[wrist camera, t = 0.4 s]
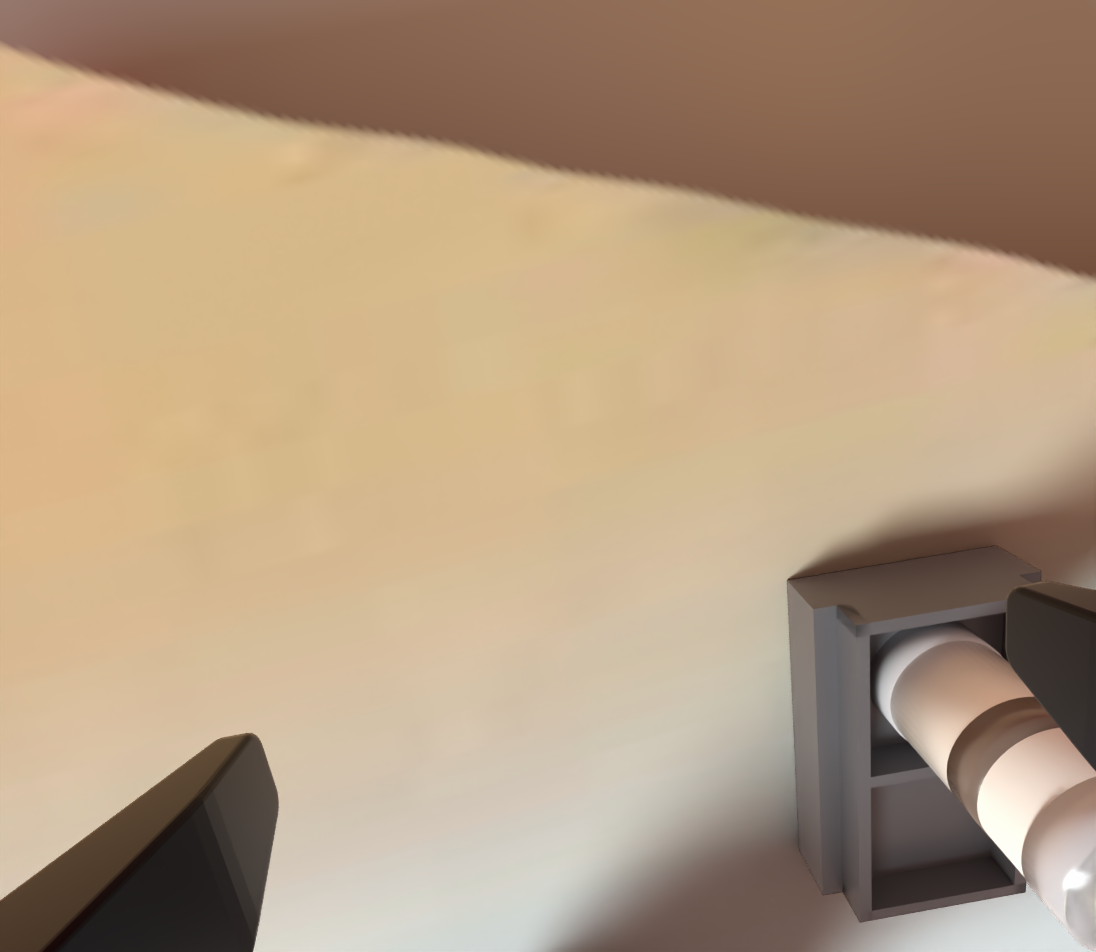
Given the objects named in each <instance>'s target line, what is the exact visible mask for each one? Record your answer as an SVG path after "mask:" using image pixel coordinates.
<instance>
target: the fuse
mask: <svg viewBox="0 0 1096 952" xmlns="http://www.w3.org/2000/svg"><path fill="white" fill-rule="evenodd" d="M870 696H871V699H872V701H873V703H874V704H875V706H876V707H877V708H878V710H879V711H880V712H881V713H882V714H883V715H884V717H885V718H886V719H887V720H888V721H889V722H890V724H891V725H892V726H893V727H894V728H895V729H896V731H897V732H898V733H899V734H900V735H901V736H902V737H903V738H904V739H906V740H907V741H908V742H909V743H910V744H911V746H912V747H913V748H914V749H915V750H916V751H917V753H918V754H919V755H920V756H921V757H922V758H923V760H924V761H925V762H926V763H927V764H928V765H929V767H930V768H931V769H932V770H933V771H934V772H935V774H936V775H937V776H938V777H939V778H940V779H941V781H942V782H943V783H944V784H945V785H946V786H947V788H948V789H949V790H950V791H951V792H952V793H953V795H954V797H955V798H956V799H957V800H958V802H959V803H960V804H961V805H962V806H963V807H964V809H965V810H966V811H967V812H968V813H969V814H970V816H971V817H972V818H973V819H974V820H975V821H976V823H977V824H978V825H979V826H980V827H981V828H982V830H983V831H984V832H985V833H986V834H987V835H988V836H989V838H991V839H992V840H993V841H994V842H995V843H996V845H997V846H998V847H999V848H1000V849H1001V850H1002V852H1003V853H1004V854H1005V855H1006V856H1007V857H1008V859H1009V860H1010V861H1011V862H1012V863H1013V864H1014V866H1015V867H1016V868H1017V869H1018V870H1019V871H1020V873H1021V874H1022V875H1023V876H1024V877H1025V880H1026V882H1027V883H1028V885H1029V886H1030V888H1031V889H1032V890H1033V891H1034V892H1035V894H1036V895H1037V896H1038V897H1039V898H1040V899H1041V901H1042V902H1043V903H1044V904H1045V905H1046V906H1047V908H1048V909H1049V910H1050V911H1051V912H1052V913H1053V915H1054V916H1055V917H1056V918H1057V919H1058V921H1059V922H1060V923H1061V924H1062V925H1063V926H1064V928H1065V929H1066V930H1067V931H1068V932H1069V933H1070V935H1071V936H1072V937H1073V938H1074V939H1075V940H1076V941H1077V942H1078V943H1080V944H1081V945H1082V946H1084V947H1086V948H1088V949H1090V950H1092V951H1095V952H1096V771H1095V770H1094V769H1093V768H1092V767H1091V766H1090V764H1089V763H1088V762H1087V761H1086V760H1085V758H1084V757H1083V756H1082V755H1081V754H1080V752H1079V751H1078V750H1077V749H1076V747H1075V746H1074V745H1073V744H1072V742H1071V741H1070V740H1069V739H1068V737H1067V736H1066V735H1065V734H1064V732H1063V731H1062V730H1061V729H1060V728H1059V726H1058V725H1057V724H1056V723H1055V721H1054V720H1053V719H1052V718H1051V716H1050V715H1049V714H1048V713H1047V711H1046V710H1045V709H1044V708H1043V706H1042V705H1041V704H1040V703H1039V702H1038V700H1037V699H1036V698H1035V697H1034V695H1033V694H1032V693H1031V692H1030V690H1029V689H1028V688H1027V687H1026V685H1025V684H1024V683H1023V682H1022V680H1021V679H1020V678H1019V677H1018V675H1017V674H1016V673H1015V672H1014V670H1013V669H1012V667H1011V665H1010V663H1009V662H1008V661H1006V660H1005V659H1004V658H1003V657H1002V656H1001V655H1000V653H998V652H997V651H996V650H995V649H994V648H993V647H991V646H990V645H989V644H988V643H986V642H985V641H984V640H983V639H981V638H980V637H979V636H977V635H976V634H975V633H974V632H972V631H971V630H970V629H968V628H967V627H965V626H964V625H962V624H960V623H958V622H955V621H952V622H946V623H940V624H934V625H928V626H922V627H916V628H910V629H905V630H900V631H898V632H897V633H896V634H894V635H893V636H892V637H891V638H890V639H889V640H887V641H886V642H885V644H884V645H883V646H882V647H881V648H880V650H879V651H878V653H877V654H876V656H875V658H874V660H873V662H872V665H871V668H870Z"/></svg>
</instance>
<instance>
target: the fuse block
mask: <svg viewBox="0 0 1096 952" xmlns="http://www.w3.org/2000/svg"><path fill="white" fill-rule="evenodd" d="M1040 581H1041V571H1040V570H1038V569H1036V568H1035V567H1033V566H1031V565H1030V564H1028V563H1026V562H1024V561H1023V560H1021V559H1019V558H1017V557H1016V556H1014V555H1012V554H1011V553H1009V552H1007V551H1005V550H1004V549H1002V548H1000V547H998V546H991V547H985V548H979V549H973V550H967V551H961V552H955V553H949V554H943V555H937V556H931V557H925V558H919V559H913V560H907V561H901V562H895V563H889V564H883V565H877V566H871V567H865V568H859V569H852V570H846V571H840V572H834V573H828V574H822V575H816V576H810V577H804V578H798V579H792V580H787V593H788V615H789V638H790V660H791V682H792V704H793V726H794V748H795V771H796V793H797V815H798V837H799V851H800V853H801V854H802V856H803V858H804V860H805V862H806V864H807V866H808V868H809V870H810V872H811V874H812V876H813V877H814V879H815V881H816V883H817V885H818V887H819V889H820V891H821V893H822V895H828V894H834V893H839V892H843V893H844V895H845V897H846V898H847V900H848V902H849V904H850V906H851V907H852V909H853V911H854V913H855V915H856V916H857V918H858V920H859V922H866V921H871V920H877V919H882V918H887V917H893V916H898V915H904V914H909V913H915V912H920V911H926V910H931V909H937V908H942V907H948V906H953V905H959V904H964V903H970V902H975V901H981V900H986V899H991V898H997V897H1002V896H1008V895H1013V894H1019V893H1024V892H1026V880H1025V877H1024V876H1023V875H1022V874H1021V873H1020V871H1019V870H1018V869H1017V868H1016V867H1015V866H1014V864H1013V863H1012V862H1011V861H1010V860H1009V859H1008V857H1007V856H1006V855H1005V854H1004V853H1003V852H1002V850H1001V849H1000V848H999V847H998V846H997V845H996V843H995V842H994V841H993V840H992V839H991V838H989V836H988V835H987V834H986V833H985V832H984V831H983V830H982V828H981V827H980V826H979V825H978V824H977V823H976V821H975V820H974V819H973V818H972V817H971V816H970V814H969V813H968V812H967V811H966V810H965V809H964V807H963V806H962V805H961V804H960V803H959V802H958V800H957V799H956V798H955V797H954V795H953V793H952V792H951V791H950V790H949V789H948V788H947V786H946V785H945V784H944V783H943V782H942V781H941V779H940V778H939V777H938V776H937V775H936V774H935V772H934V771H933V770H932V769H931V768H930V767H929V765H928V764H927V763H926V762H925V761H924V760H923V758H922V757H921V756H920V755H919V754H918V753H917V751H916V750H915V749H914V748H913V747H912V746H911V744H910V743H909V742H908V741H907V740H906V739H904V738H903V737H902V736H901V735H900V734H899V733H898V732H897V731H896V729H895V728H894V727H893V726H892V725H891V724H890V722H889V721H888V720H887V719H886V718H885V717H884V715H883V714H882V713H881V712H880V711H879V710H878V708H877V707H876V706H875V704H874V703H873V701H872V699H871V696H870V668H871V665H872V662H873V660H874V658H875V656H876V654H877V653H878V651H879V650H880V648H881V647H882V646H883V645H884V644H885V642H886V641H887V640H889V639H890V638H891V637H892V636H893V635H894V634H896V633H897V632H898V631H900V630H905V629H910V628H916V627H922V626H928V625H934V624H940V623H946V622H952V621H955V622H958V623H960V624H962V625H964V626H965V627H967V628H968V629H970V630H971V631H972V632H974V633H975V634H976V635H977V636H979V637H980V638H981V639H983V640H984V641H985V642H986V643H988V644H989V645H990V646H991V647H993V648H994V649H995V650H996V651H997V652H998V653H1000V655H1001V656H1002V657H1003V658H1004V659H1005V660H1006V661H1008V658H1007V655H1006V648H1005V640H1006V600H1007V596H1008V593H1009V592H1010V591H1011V590H1012V589H1013V588H1015V587H1018V586H1022V585H1027V584H1032V583H1038V582H1040ZM1008 662H1009V661H1008Z"/></svg>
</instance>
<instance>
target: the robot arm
mask: <svg viewBox="0 0 1096 952" xmlns="http://www.w3.org/2000/svg"><path fill="white" fill-rule="evenodd" d="M1005 648H1006V655H1007V658H1008V661H1009V663H1010V665H1011V667H1012V669H1013V670H1014V672H1015V673H1016V674H1017V675H1018V677H1019V678H1020V679H1021V680H1022V682H1023V683H1024V684H1025V685H1026V687H1027V688H1028V689H1029V690H1030V692H1031V693H1032V694H1033V695H1034V697H1035V698H1036V699H1037V700H1038V702H1039V703H1040V704H1041V705H1042V706H1043V708H1044V709H1045V710H1046V711H1047V713H1048V714H1049V715H1050V716H1051V718H1052V719H1053V720H1054V721H1055V723H1056V724H1057V725H1058V726H1059V728H1060V729H1061V730H1062V731H1063V732H1064V734H1065V735H1066V736H1067V737H1068V739H1069V740H1070V741H1071V742H1072V744H1073V745H1074V746H1075V747H1076V749H1077V750H1078V751H1079V752H1080V754H1081V755H1082V756H1083V757H1084V758H1085V760H1086V761H1087V762H1088V763H1089V764H1090V766H1091V767H1092V768H1093V769H1094V770H1095V771H1096V590H1092V589H1086V588H1081V587H1076V586H1070V585H1065V584H1060V583H1054V582H1047V581H1046V582H1038V583H1032V584H1027V585H1022V586H1018V587H1015V588H1013V589H1012V590H1011V591H1010V592H1009V593H1008V596H1007V600H1006V640H1005ZM278 808H279V801H278V793H277V789H276V786H275V783H274V780H273V777H272V773H271V770H270V767H269V764H268V761H267V758H266V755H265V752H264V749H263V746H262V743H261V741H260V740H259V738H258V737H257V736H256V735H255V734H253V733H245V734H239V735H234V736H229V737H224V738H220V739H218V740H216V741H214V742H213V743H212V744H210V745H209V746H208V747H206V748H205V749H204V750H202V751H201V752H200V753H198V754H197V755H196V756H194V757H193V758H191V759H190V760H189V761H187V762H186V763H185V764H183V765H182V766H181V767H179V768H178V769H177V770H175V771H174V772H173V773H171V774H170V775H169V776H167V777H166V778H165V779H163V780H162V781H161V782H159V783H158V784H156V785H155V786H154V787H152V788H151V789H150V790H148V791H147V792H146V793H144V794H143V795H142V796H140V797H139V798H138V799H136V800H135V801H134V802H132V803H131V804H130V805H128V806H127V807H125V808H124V809H123V810H121V811H120V812H119V813H117V814H116V815H115V816H113V817H112V818H111V819H109V820H108V821H107V822H105V823H104V824H103V825H101V826H100V827H99V828H97V829H96V830H95V831H93V832H92V833H90V834H89V835H88V836H86V837H85V838H84V839H82V840H81V841H80V842H78V843H77V844H76V845H74V846H73V847H72V848H70V849H69V850H68V851H66V852H65V853H64V854H62V855H61V856H59V857H58V858H57V859H55V860H54V861H53V862H51V863H50V864H49V865H47V866H46V867H45V868H43V869H42V870H41V871H39V872H38V873H37V874H35V875H34V876H33V877H31V878H30V879H29V880H27V881H26V882H24V883H23V884H22V885H20V886H19V887H18V888H16V889H15V890H14V891H12V892H11V893H10V894H8V895H7V896H6V897H4V898H3V899H2V900H0V952H253V949H254V945H255V941H256V936H257V931H258V926H259V921H260V915H261V909H262V903H263V898H264V892H265V886H266V880H267V875H268V869H269V863H270V857H271V851H272V846H273V840H274V834H275V828H276V823H277V817H278Z"/></svg>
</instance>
